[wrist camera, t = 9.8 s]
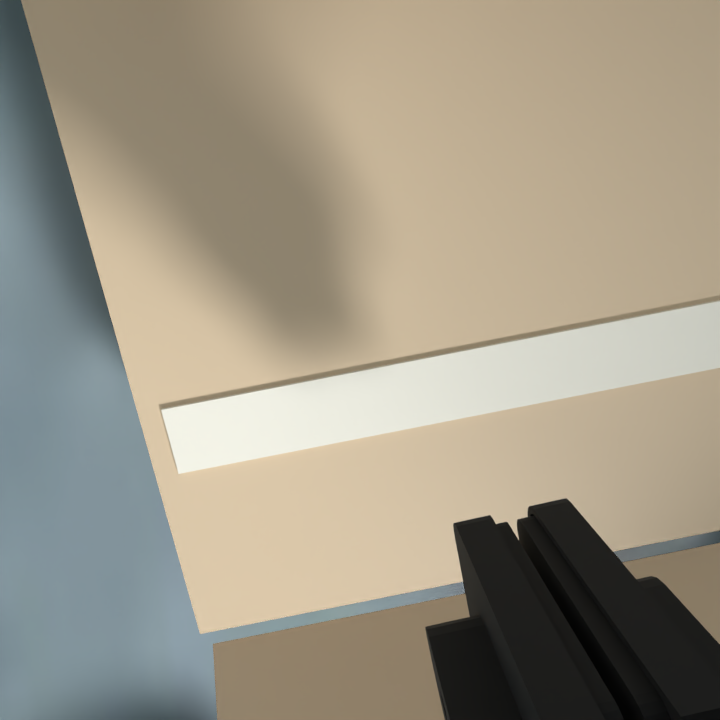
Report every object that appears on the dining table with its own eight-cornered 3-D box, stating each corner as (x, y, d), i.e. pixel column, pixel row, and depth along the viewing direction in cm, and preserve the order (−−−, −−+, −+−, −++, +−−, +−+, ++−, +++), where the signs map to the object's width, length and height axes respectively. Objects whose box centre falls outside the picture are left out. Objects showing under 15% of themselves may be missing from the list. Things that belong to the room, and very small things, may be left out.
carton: (562, -205, 18) (749, -525, 10) (619, 409, 22) (782, 520, 14) (94, -118, 18) (-88, -376, 10) (243, 483, 22) (199, 637, 14)
